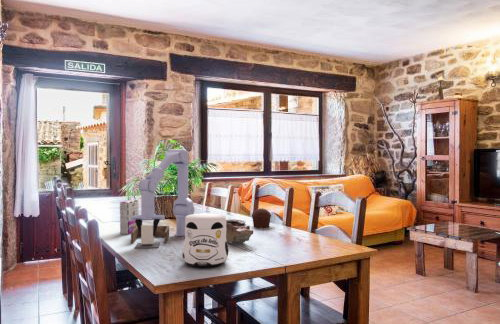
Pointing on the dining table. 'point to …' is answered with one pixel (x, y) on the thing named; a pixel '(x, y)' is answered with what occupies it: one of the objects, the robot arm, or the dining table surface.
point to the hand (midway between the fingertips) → (147, 236)
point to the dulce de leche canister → (205, 240)
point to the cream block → (147, 234)
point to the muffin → (261, 218)
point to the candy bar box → (128, 216)
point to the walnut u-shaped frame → (159, 232)
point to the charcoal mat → (147, 245)
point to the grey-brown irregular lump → (237, 231)
